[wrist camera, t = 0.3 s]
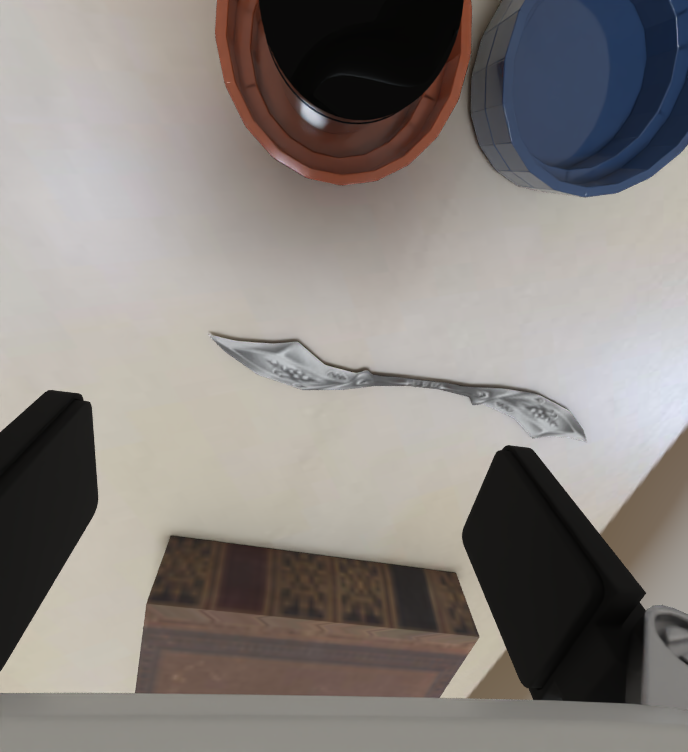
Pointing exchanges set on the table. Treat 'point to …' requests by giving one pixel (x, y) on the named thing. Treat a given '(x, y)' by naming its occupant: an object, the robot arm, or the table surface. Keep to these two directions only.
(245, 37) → the terracotta bowl
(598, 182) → the slate-blue bowl
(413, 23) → the supplement container
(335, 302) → the table surface
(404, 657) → the book
